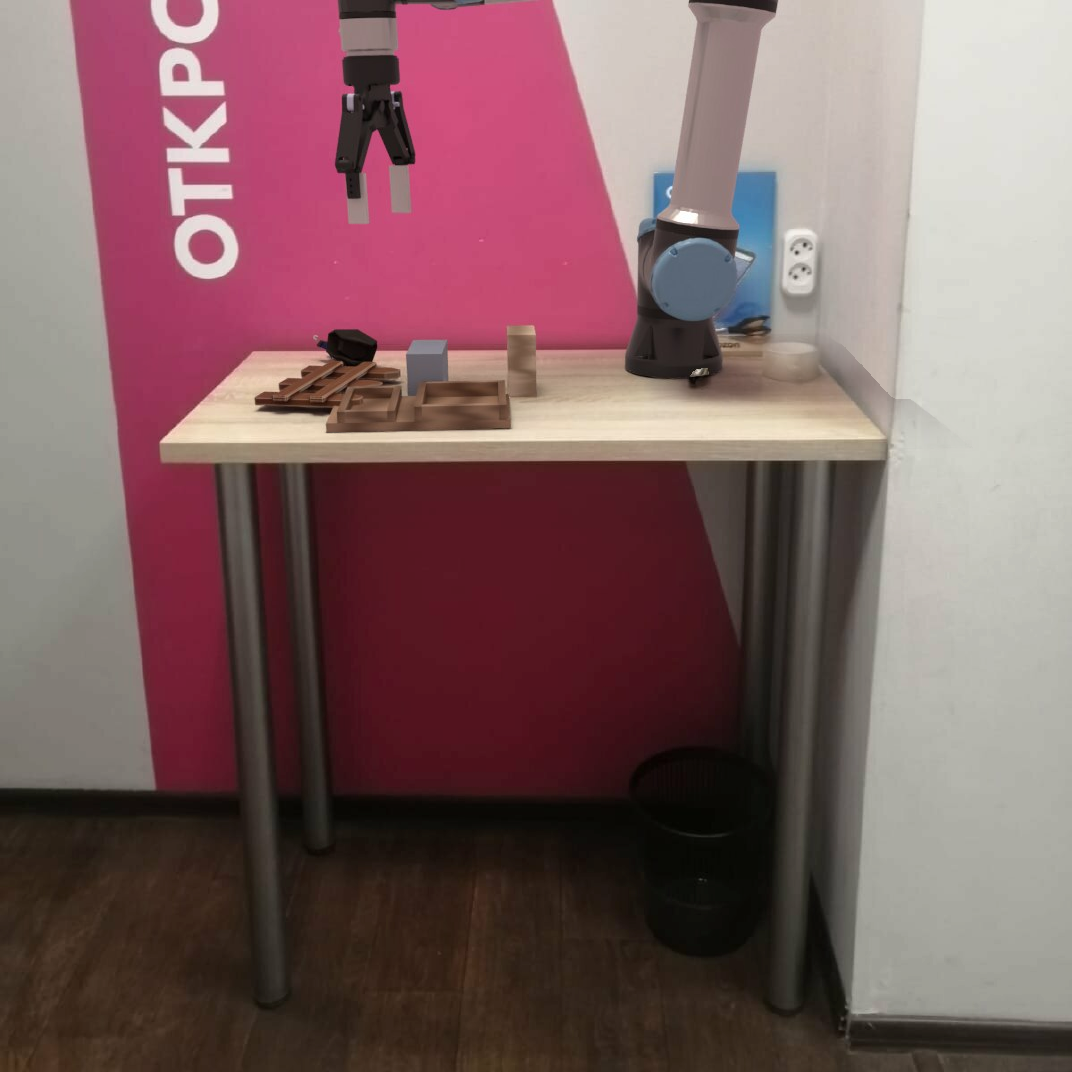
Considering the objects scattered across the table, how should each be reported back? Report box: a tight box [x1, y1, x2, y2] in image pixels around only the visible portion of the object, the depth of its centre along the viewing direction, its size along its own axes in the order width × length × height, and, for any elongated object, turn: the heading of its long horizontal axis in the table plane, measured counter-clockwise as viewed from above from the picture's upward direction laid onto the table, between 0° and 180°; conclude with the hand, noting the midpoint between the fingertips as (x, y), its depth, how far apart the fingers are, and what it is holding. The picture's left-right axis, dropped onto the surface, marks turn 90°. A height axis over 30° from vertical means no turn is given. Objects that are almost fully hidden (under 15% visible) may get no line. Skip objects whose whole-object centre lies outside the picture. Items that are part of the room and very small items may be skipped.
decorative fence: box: [253, 360, 402, 409], centre depth 184 cm, size 23×2×15 cm
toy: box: [312, 328, 378, 367], centre depth 203 cm, size 9×6×15 cm
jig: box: [325, 379, 512, 433], centre depth 171 cm, size 24×14×3 cm, turn 92°
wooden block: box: [506, 324, 537, 398], centre depth 183 cm, size 4×7×9 cm, turn 2°
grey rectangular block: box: [405, 339, 450, 396], centre depth 183 cm, size 5×10×7 cm, turn 179°
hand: (381, 218), depth 176 cm, fingers open, 13 cm apart
